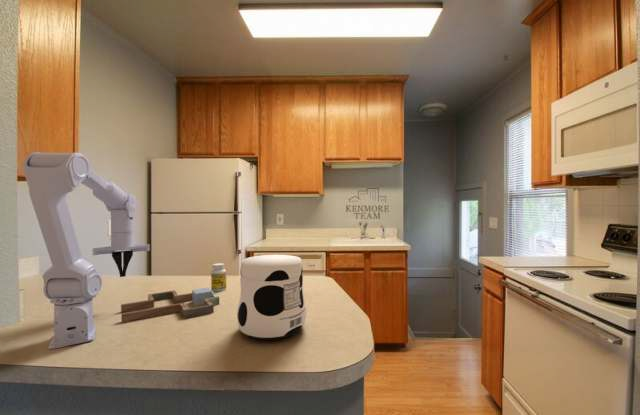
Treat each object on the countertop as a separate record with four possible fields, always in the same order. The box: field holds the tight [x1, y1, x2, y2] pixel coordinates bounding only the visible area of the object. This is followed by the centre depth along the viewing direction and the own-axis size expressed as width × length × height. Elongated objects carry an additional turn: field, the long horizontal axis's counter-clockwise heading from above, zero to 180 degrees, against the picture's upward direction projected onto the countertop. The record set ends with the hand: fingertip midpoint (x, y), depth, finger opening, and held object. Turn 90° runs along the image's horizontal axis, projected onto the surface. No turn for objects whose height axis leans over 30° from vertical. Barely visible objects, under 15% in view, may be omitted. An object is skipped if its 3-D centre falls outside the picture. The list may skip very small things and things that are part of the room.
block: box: [191, 287, 212, 307], centre depth 96 cm, size 5×5×4 cm
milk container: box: [236, 254, 307, 341], centre depth 75 cm, size 17×17×18 cm
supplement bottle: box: [210, 262, 227, 292], centre depth 110 cm, size 5×5×10 cm
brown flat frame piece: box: [120, 289, 220, 323], centre depth 91 cm, size 23×26×2 cm
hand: (122, 276), depth 91 cm, fingers closed
